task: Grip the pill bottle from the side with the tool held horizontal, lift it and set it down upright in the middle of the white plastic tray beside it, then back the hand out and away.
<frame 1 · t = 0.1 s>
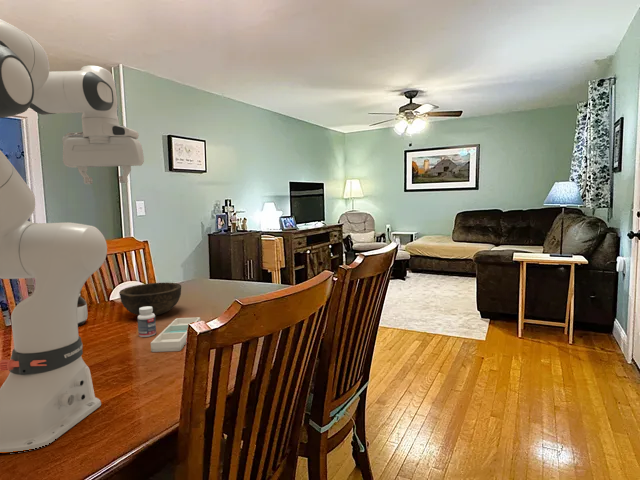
hand: (106, 183, 110), 48 cm above the table, tool pointing down, fingers open, 8 cm apart
spread jar: (67, 327, 141), on the table
bowl: (153, 314, 154), on the table
pill bottle: (147, 335, 131), on the table
white plastic tray: (178, 337, 127), on the table
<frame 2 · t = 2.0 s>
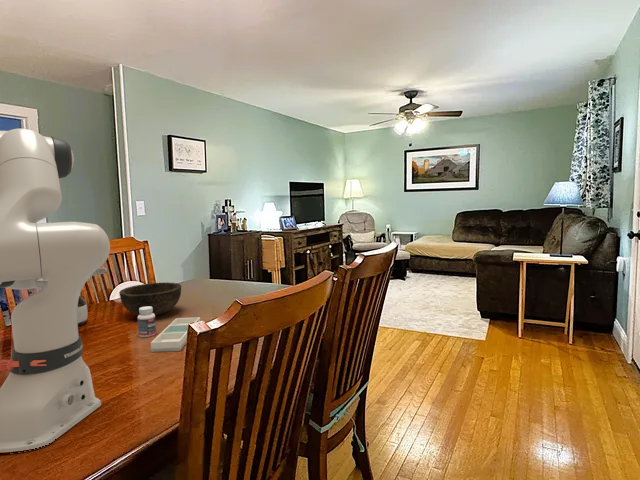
hand: (98, 273, 128), 20 cm above the table, tool horizontal, fingers open, 8 cm apart
nothing on the table moved.
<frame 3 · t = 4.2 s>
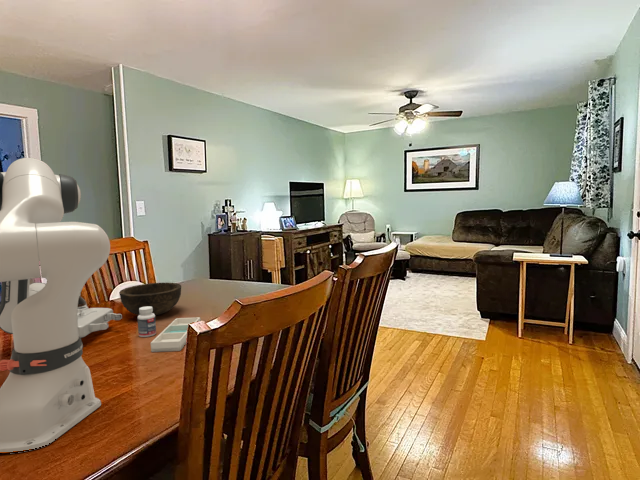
hand: (114, 321, 130), 5 cm above the table, tool horizontal, fingers open, 8 cm apart
nothing on the table moved.
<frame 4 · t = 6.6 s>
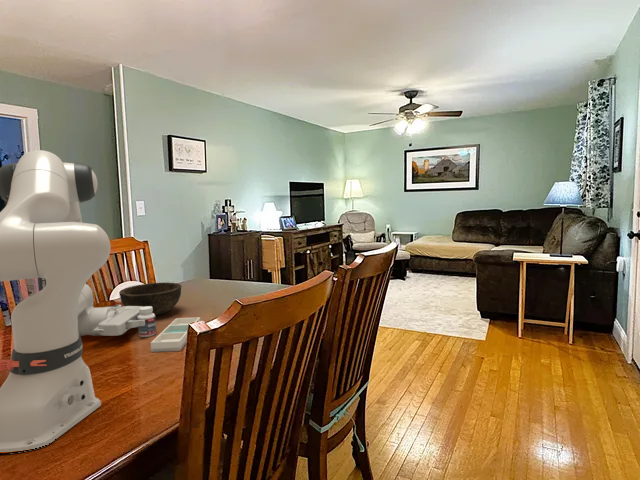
hand: (149, 319, 130), 5 cm above the table, tool horizontal, fingers closed on pill bottle, 5 cm apart
pill bottle: (147, 335, 131), on the table, touching gripper
everything else where it was.
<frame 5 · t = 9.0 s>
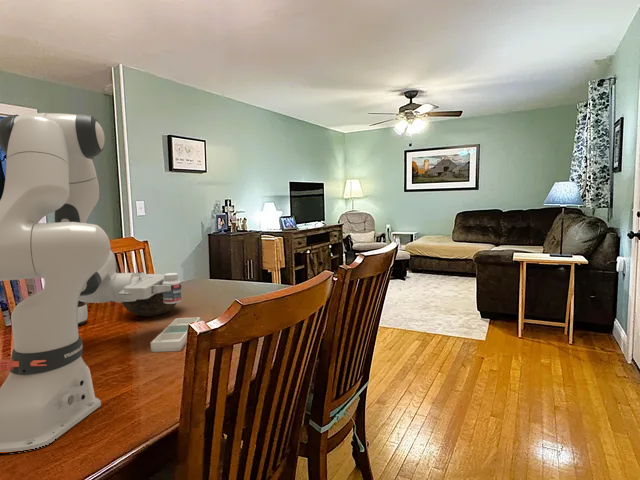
hand: (174, 285, 126), 17 cm above the table, tool horizontal, fingers closed on pill bottle, 5 cm apart
pill bottle: (172, 302, 126), point 11 cm above the table, touching gripper
everything else where it was.
when the fingers open (7 cm above the table, at t = 11.4 s): pill bottle stays where it is, resting on white plastic tray.
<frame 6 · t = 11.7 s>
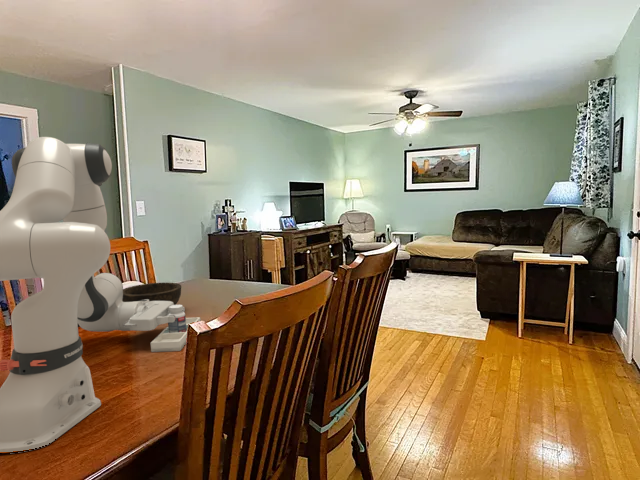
hand: (179, 314, 126), 7 cm above the table, tool horizontal, fingers open, 8 cm apart
pill bottle: (177, 334, 127), point 1 cm above the table, touching white plastic tray
everything else where it was.
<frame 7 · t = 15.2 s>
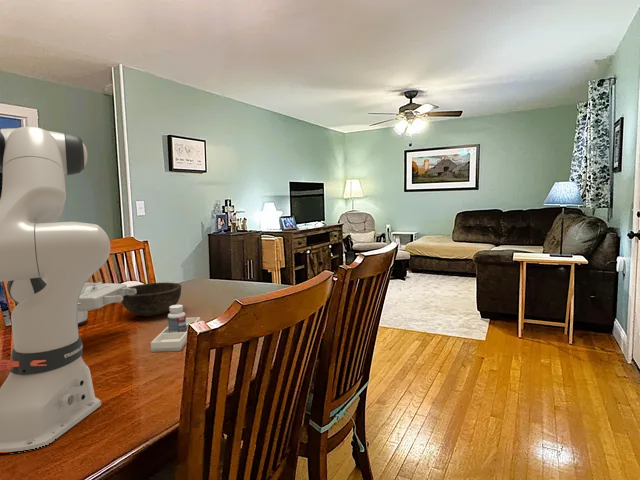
hand: (129, 294, 125), 14 cm above the table, tool horizontal, fingers open, 8 cm apart
nothing on the table moved.
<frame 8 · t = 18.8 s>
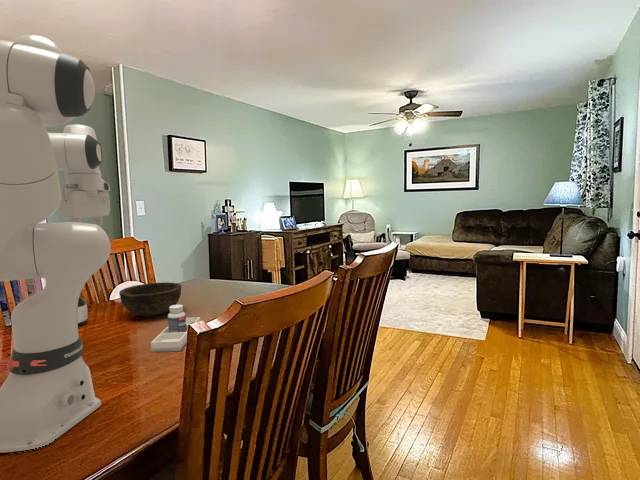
hand: (88, 233, 116), 34 cm above the table, tool pointing down, fingers open, 8 cm apart
nothing on the table moved.
at the end: pill bottle 0.1 cm off-centre on the white plastic tray, point 1.0 cm above the white plastic tray's base; pill bottle tilted 0°; the gripper is holding nothing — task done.
